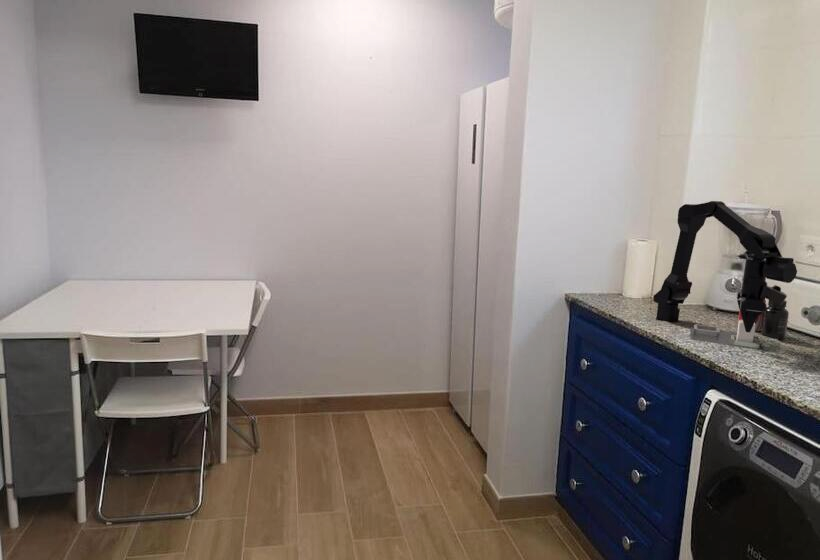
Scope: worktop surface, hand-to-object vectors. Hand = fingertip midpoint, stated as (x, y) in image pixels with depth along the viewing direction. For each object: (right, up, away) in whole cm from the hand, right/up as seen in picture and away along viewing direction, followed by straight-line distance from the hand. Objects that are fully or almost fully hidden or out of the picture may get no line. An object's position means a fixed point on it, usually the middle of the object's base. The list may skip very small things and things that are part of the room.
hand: (746, 328), depth 180 cm
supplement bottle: (+15, -4, +12) cm, 20 cm away
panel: (-3, -4, +7) cm, 8 cm away
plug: (0, -5, +1) cm, 5 cm away
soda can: (+12, -2, +20) cm, 23 cm away
